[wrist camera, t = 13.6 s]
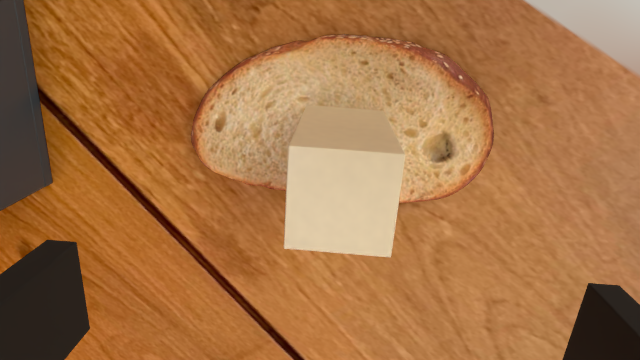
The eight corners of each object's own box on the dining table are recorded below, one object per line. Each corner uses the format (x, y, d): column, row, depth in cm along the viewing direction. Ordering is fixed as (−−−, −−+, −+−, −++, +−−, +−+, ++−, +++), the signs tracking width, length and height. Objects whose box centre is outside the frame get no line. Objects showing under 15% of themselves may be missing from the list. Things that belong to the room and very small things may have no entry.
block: (306, 104, 27) (287, 145, 18) (383, 110, 27) (405, 154, 18) (302, 177, 29) (283, 249, 20) (374, 183, 29) (391, 257, 20)
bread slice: (172, 133, 32) (151, 146, 28) (342, -64, 27) (342, -77, 23) (340, 280, 36) (340, 307, 32) (517, 131, 31) (540, 145, 27)
